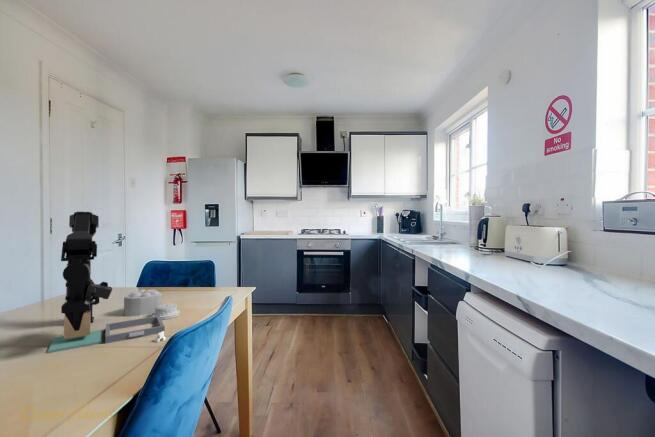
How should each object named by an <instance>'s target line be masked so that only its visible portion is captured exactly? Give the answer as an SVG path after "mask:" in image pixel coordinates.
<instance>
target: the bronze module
mask: <svg viewBox="0 0 655 437" xmlns="http://www.w3.org/2000/svg"><path fill="white" fill-rule="evenodd" d="M63 320H64V321H63V336H64V339H69V338H74V337H80V336H86V335H90V332H91V323H92V322H91V309H89V310H87V311H86V312H85V313H84V314H83V318H82V322H81V326H80V330H78V331H75V330H74V329H73V327H72V325H71V323H70V322H69V320H68V318H67V317H66V315H65V314H64V319H63Z"/></svg>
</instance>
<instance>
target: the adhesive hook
mask: <svg viewBox="0 0 655 437" xmlns="http://www.w3.org/2000/svg"><path fill="white" fill-rule="evenodd" d="M165 340H166V336H165V332H164V331H162V332H160V333H157V334H156V337H154V339H153V342H156V343H160V342H161V341H165Z"/></svg>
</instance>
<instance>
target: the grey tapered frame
mask: <svg viewBox="0 0 655 437" xmlns="http://www.w3.org/2000/svg"><path fill="white" fill-rule="evenodd" d="M153 323H156V324H157V326H152V327H148V328H147V327H146V328H141V329H136V330H131V331H125V332H120V333H119V332H118V333H114V334H110V333H111V332H110V331H112V330H119V329H124V328H129V327H136V326H141V325H149V324H153ZM165 328H166V327H165V324H164V322H163V320H161V318H160V316H154V317H151V316H150V317H149V316H147V317H142V318H137V319H136V318H135V319H129V320H124V321H123V320H122V321H118V322H111V323H106V324H105V339H104V340H105V344H108V343H114V342H120V341H125V340H130V339H137V338H141V337H146V336H151V335H157V334H159V333H160V332H162V331H164V333H165V330H166V329H165Z"/></svg>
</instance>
